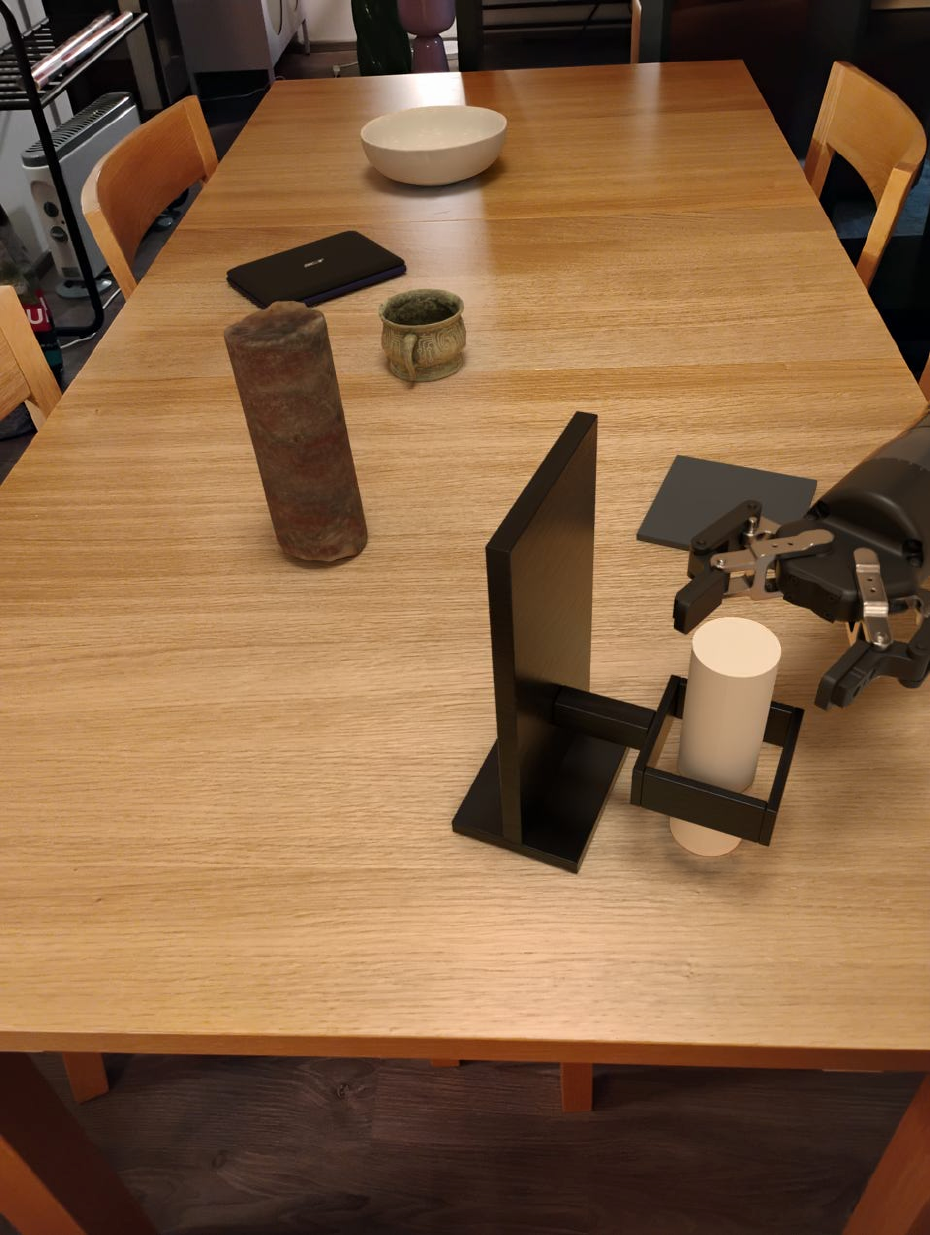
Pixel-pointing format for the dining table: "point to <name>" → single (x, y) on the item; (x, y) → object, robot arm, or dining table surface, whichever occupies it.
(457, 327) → the vessel
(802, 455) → the dining table surface
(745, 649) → the tube
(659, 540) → the mat
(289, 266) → the laptop
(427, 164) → the serving bowl
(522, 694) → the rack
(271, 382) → the candle
